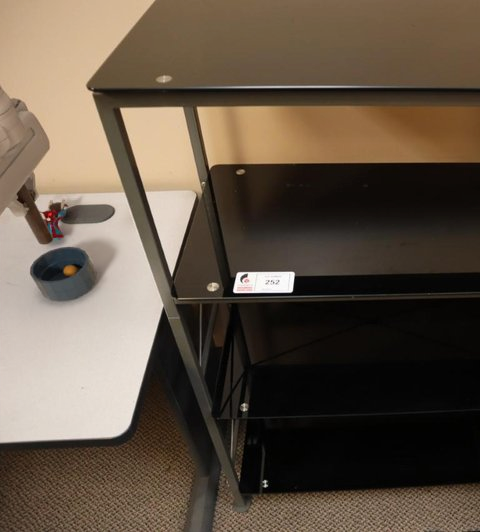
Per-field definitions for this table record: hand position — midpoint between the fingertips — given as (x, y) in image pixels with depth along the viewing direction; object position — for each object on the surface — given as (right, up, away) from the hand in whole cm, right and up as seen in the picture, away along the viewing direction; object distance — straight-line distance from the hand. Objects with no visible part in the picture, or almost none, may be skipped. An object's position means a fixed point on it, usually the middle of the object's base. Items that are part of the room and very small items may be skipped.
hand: (27, 206), depth 80 cm
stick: (-1, -5, +5) cm, 7 cm away
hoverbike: (-15, -1, +30) cm, 33 cm away
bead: (-5, -10, +19) cm, 22 cm away
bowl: (-5, -13, +19) cm, 23 cm away
